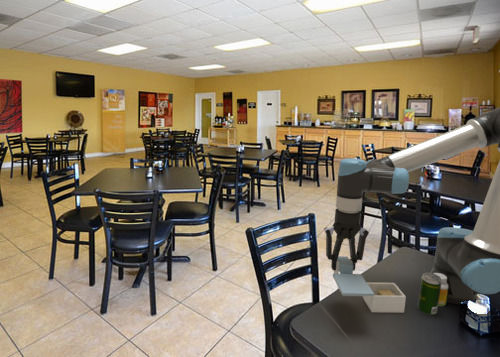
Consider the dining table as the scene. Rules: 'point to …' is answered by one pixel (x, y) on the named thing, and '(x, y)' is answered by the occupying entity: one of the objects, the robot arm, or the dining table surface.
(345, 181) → the robot arm
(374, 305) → the tub
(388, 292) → the brass part
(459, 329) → the dining table surface
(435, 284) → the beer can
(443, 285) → the supplement bottle
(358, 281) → the lid
